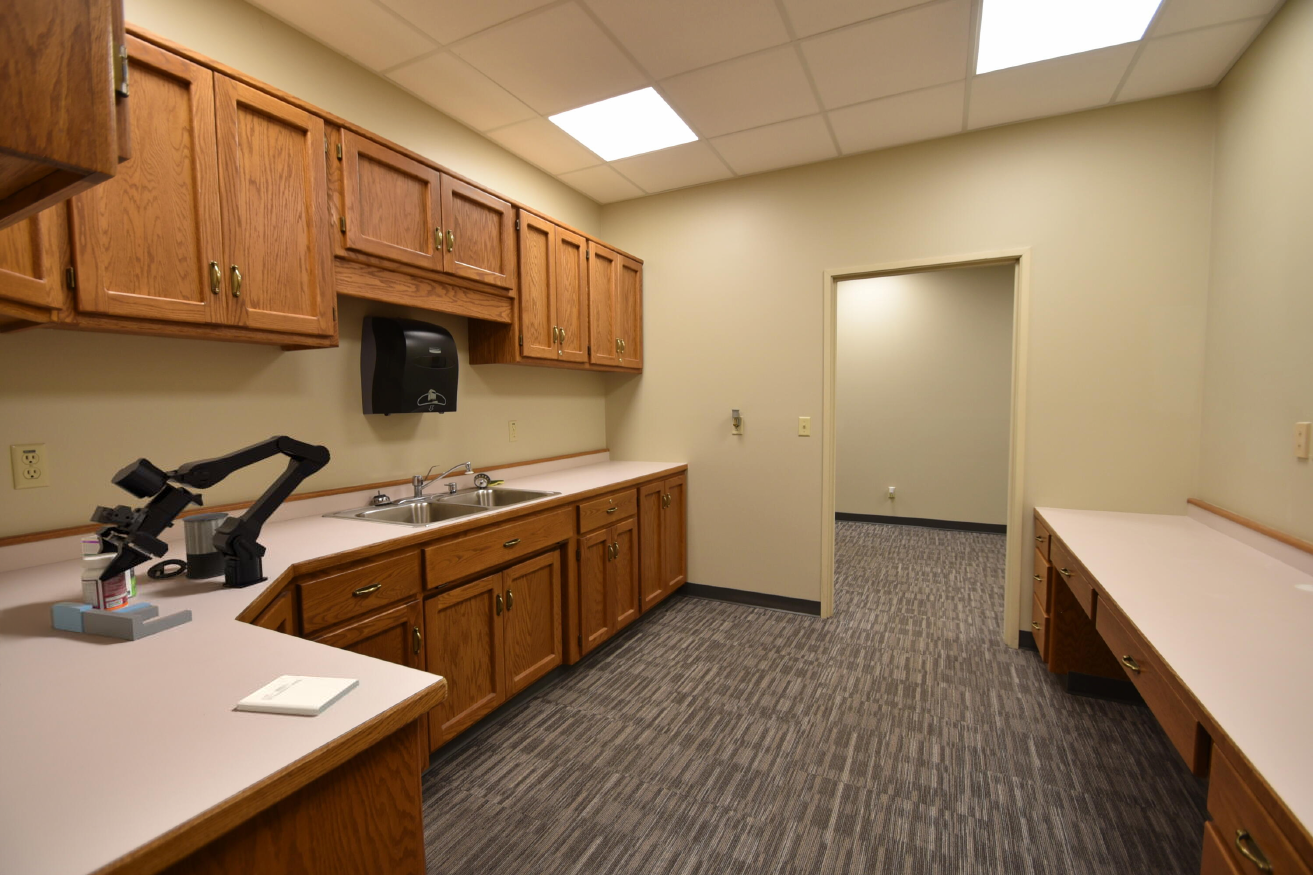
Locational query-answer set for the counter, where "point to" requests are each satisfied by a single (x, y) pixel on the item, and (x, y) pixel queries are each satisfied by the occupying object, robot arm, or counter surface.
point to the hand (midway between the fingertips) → (94, 578)
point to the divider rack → (114, 620)
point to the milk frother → (197, 550)
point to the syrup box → (91, 548)
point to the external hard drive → (298, 695)
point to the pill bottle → (103, 584)
